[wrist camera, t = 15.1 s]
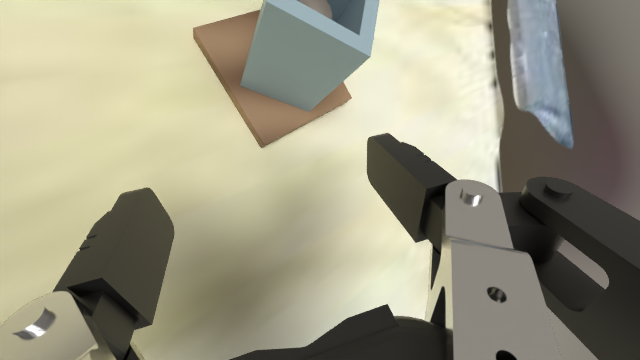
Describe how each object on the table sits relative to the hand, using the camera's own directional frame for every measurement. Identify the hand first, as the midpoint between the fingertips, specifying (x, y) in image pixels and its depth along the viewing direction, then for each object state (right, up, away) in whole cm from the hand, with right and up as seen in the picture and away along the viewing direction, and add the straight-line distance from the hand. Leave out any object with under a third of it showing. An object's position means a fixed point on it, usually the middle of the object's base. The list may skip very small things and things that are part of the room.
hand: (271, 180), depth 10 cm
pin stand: (-2, +10, +13) cm, 16 cm away
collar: (-1, +10, +12) cm, 16 cm away
